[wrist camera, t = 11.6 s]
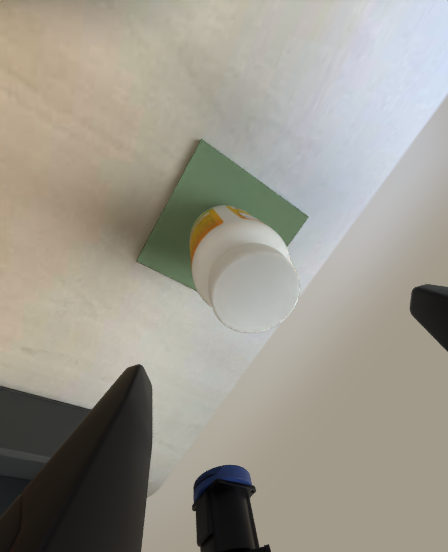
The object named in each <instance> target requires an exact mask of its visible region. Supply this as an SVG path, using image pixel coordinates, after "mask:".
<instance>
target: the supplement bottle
mask: <svg viewBox="0 0 448 552" xmlns="http://www.w3.org/2000/svg"><path fill="white" fill-rule="evenodd" d="M189 242H190V256H191V270H192V277H193V281H194V284H195V287H196V289H197V291H198V293H199V295H200V296H201V297H202V299H203V300H204V301H205V302H206V303H207V304H208V305H209V306H211V307H212V308H213V310H214V312H215V314H216V316H217V317H218V319H219V320H220V321H221V322H222V323H223V324H225V325H226V326H227V327H229V328H231V329H233V330H236V331H239V332H245V333H255V332H261V331H265V330H268V329H270V328H272V327H274V326H276V325H278V324H279V323H280V322H282V321H283V320H284V319H285V318H286V317H287V316H288V315H289V314H290V313H291V311H292V310H293V308H294V307H295V305H296V303H297V300H298V297H299V293H300V282H299V277H298V274H297V271H296V269H295V268H294V266H293V265H292V263H291V261H290V255H289V252H288V249H287V247H286V245H285V243H284V241H283V240H282V238H281V237H280V236H279V235H278V234H277V233H276V232H275V231H274V230H273V229H272V228H270V227H269V226H268V225H266V224H264V223H263V222H261V221H260V220H258V219H257V218H255V217H253V216H252V215H250V214H248V213H247V212H245V211H244V210H242V209H240V208H237V207H234V206H230V205H220V206H215V207H212V208H210V209H208V210H207V211H205V212H204V213H202V214H201V215H200V216H199V217H198V218H197V220H196V221H195V223H194V224H193V227H192V229H191V232H190V241H189Z"/></svg>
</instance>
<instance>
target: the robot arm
mask: <svg viewBox="0 0 448 552" xmlns="http://www.w3.org/2000/svg"><path fill="white" fill-rule="evenodd" d="M410 312H411V314H412V316H413V317H414V318H415V319H416V320H417V321H418V322H419V323H420V324H421V325H422V326H423V327H424V328H425V329H426V330H427V331H428V332H429V333H430V334H431V335H432V336H433V337H434V338H435V339H436V340H437V341H438V342H439V343H440V344H441V345H442V346H443V347H444V348H445V349H446V350H447V351H448V287H443V286H437V285H430V284H426V285H421V286H418V287H415V288H414V289H413V290H412V294H411V302H410ZM151 450H152V385H151V382H150V380H149V378H148V376H147V374H146V372H145V369H144V367H143V366H142V365H140V364H138V365H135V366H131V367H128V368H127V369H126V370H125V371H124V372H123V373H122V375H121V376H120V377H119V378H118V379H117V381H116V382H115V383H114V384H113V385H112V386H111V388H110V389H109V390H108V391H107V392H106V393H105V395H104V396H103V397H102V398H101V399H100V401H99V402H98V403H97V404H96V405H95V406H94V408H93V409H92V410H91V411H90V412H89V414H88V415H87V416H86V417H85V418H84V419H83V421H82V422H81V423H80V424H79V425H78V427H77V428H76V429H75V430H74V431H73V432H72V434H71V435H70V436H69V437H68V438H67V439H66V441H65V442H64V443H63V444H62V445H61V447H60V448H59V449H58V450H57V451H56V452H55V454H54V455H53V456H52V457H51V458H50V460H49V461H48V462H47V463H46V464H45V465H44V467H43V468H42V469H41V470H40V471H39V472H38V474H37V475H36V476H35V477H34V478H33V480H32V481H31V482H30V483H29V484H28V485H27V487H26V488H25V489H24V490H23V493H22V495H19V496H18V497H17V498H16V499H15V501H14V502H13V503H12V504H11V505H10V507H9V508H8V509H7V510H6V511H5V512H4V514H3V515H2V516H1V517H0V552H141V547H142V537H143V526H144V518H145V508H146V498H147V489H148V479H149V469H150V460H151ZM255 492H256V489H255V487H254V486H252V485H247V484H242V483H238V482H233V481H228V480H223V479H215V480H214V481H213V482H212V483H211V485H210V486H209V487H208V488H207V489H206V490H205V491H204V492H203V494H202V495H201V496H200V497H199V498H198V499H197V500H196V502H195V503H194V504H193V505H192V510H193V511H196V525H197V526H196V528H197V545H198V546H199V547H200V549H201V552H271V550H270V547H269V544H268V545H264V547H260V548H259V543H258V538H257V533H256V528H255V523H254V519H253V513H252V508H251V503H250V497H251V496H252V495H253V494H254V493H255Z"/></svg>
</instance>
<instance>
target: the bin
mask: <svg viewBox="0 0 448 552" xmlns="http://www.w3.org/2000/svg"><path fill="white" fill-rule="evenodd" d="M90 411H91V410H89V409H85V408H81V407H77V406H73V405H70V404H66V403H62V402H58V401H54V400H51V399H47V398H43V397H39V396H35V395H32V394H28V393H24V392H20V391H16V390H13V389H9V388H5V387H1V386H0V517H1V516H2V515H3V514H4V512H5V511H6V510H7V509H8V508H9V507H10V505H11V504H12V503H13V502H14V501H15V499H16V498H17V497H18V496H19V495H22V493H23V490H24V489H25V488H26V487H27V485H28V484H29V483H30V482H31V481H32V480H33V478H34V477H35V476H36V475H37V474H38V472H39V471H40V470H41V469H42V468H43V467H44V465H45V464H46V463H47V462H48V461H49V460H50V458H51V457H52V456H53V455H54V454H55V452H56V451H57V450H58V449H59V448H60V447H61V445H62V444H63V443H64V442H65V441H66V439H67V438H68V437H69V436H70V435H71V434H72V432H73V431H74V430H75V429H76V428H77V427H78V425H79V424H80V423H81V422H82V421H83V419H84V418H85V417H86V416H87V415H88V414H89V412H90Z"/></svg>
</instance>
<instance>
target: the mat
mask: <svg viewBox="0 0 448 552" xmlns="http://www.w3.org/2000/svg"><path fill="white" fill-rule="evenodd" d="M220 205H230V206H234V207H237V208H240V209H242V210H244V211H245V212H247V213H248V214H250V215H252V216H253V217H255V218H257V219H258V220H260V221H261V222H263V223H264V224H266V225H268V226H269V227H270V228H272V229H273V230H274V231H275V232H276V233H277V234H278V235H279V236H280V237H281V238H282V240H283V241H284V243H285V245H286V247H287V246H288V245H289V244H290V242H291V241H292V239H293V238H294V237H295V235H296V234H297V232H298V231H299V230H300V228H301V227H302V225H303V224H304V223H305V221H306V220H307V218H308V216H307V215H306V214H304V213H303V212H302V211H300V210H299V209H297V208H296V207H295V206H293V205H292V204H291V203H289V202H288V201H286V200H285V199H284V198H282V197H281V196H280V195H278V194H277V193H275V192H274V191H273V190H271V189H270V188H268V187H267V186H266V185H264V184H263V183H262V182H260V181H259V180H257V179H256V178H255V177H253V176H252V175H251V174H249V173H248V172H246V171H245V170H244V169H242V168H241V167H240V166H238V165H237V164H235V163H234V162H233V161H231V160H230V159H229V158H227V157H226V156H224V155H223V154H222V153H220V152H219V151H217V150H216V149H215V148H213V147H212V146H211V145H209V144H208V143H206V142H205V141H204V140H202V139H201V141H200V143H199V144H198V146H197V148H196V150H195V152H194V154H193V156H192V158H191V160H190V161H189V163H188V165H187V167H186V169H185V171H184V173H183V175H182V176H181V178H180V180H179V182H178V184H177V186H176V188H175V190H174V191H173V193H172V195H171V197H170V199H169V201H168V203H167V205H166V206H165V208H164V210H163V212H162V214H161V216H160V218H159V220H158V222H157V223H156V225H155V227H154V229H153V231H152V233H151V235H150V237H149V238H148V240H147V242H146V244H145V246H144V248H143V250H142V252H141V253H140V255H139V257H138V259H137V262H139V263H141V264H143V265H145V266H147V267H149V268H151V269H153V270H156V271H158V272H160V273H162V274H164V275H166V276H168V277H170V278H172V279H174V280H176V281H178V282H180V283H182V284H184V285H186V286H188V287H190V288H192V289H194V290H196V291H197V289H196V287H195V284H194V281H193V277H192V270H191V256H190V242H189V241H190V232H191V229H192V227H193V224H194V223H195V221H196V220H197V218H198V217H199V216H200V215H201V214H202V213H204V212H205V211H207V210H208V209H210V208H212V207H215V206H220Z"/></svg>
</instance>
